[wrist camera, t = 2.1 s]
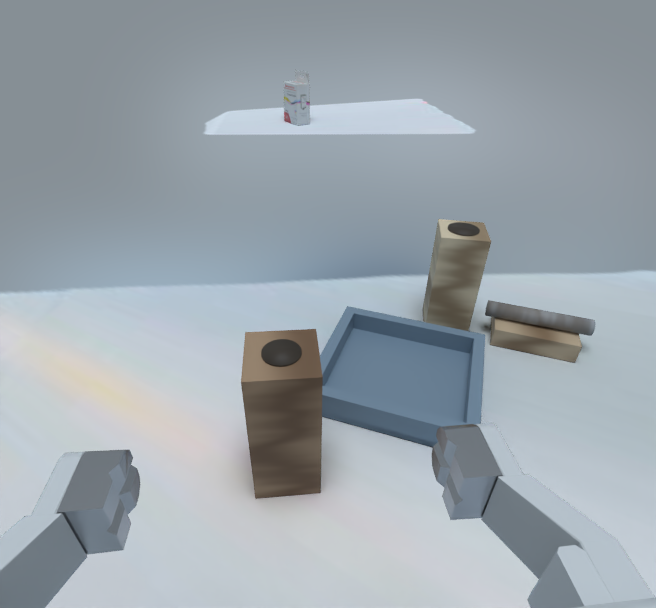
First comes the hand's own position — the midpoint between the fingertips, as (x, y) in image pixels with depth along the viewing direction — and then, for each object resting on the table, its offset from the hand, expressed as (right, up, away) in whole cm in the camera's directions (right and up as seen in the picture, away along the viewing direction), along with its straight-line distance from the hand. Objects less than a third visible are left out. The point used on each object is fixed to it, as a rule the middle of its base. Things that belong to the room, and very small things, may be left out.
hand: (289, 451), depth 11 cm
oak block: (+14, +2, +36) cm, 39 cm away
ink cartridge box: (-9, +63, +127) cm, 142 cm away
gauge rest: (+22, 0, +34) cm, 41 cm away
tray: (+8, -3, +28) cm, 29 cm away
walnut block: (-2, -8, +20) cm, 22 cm away
